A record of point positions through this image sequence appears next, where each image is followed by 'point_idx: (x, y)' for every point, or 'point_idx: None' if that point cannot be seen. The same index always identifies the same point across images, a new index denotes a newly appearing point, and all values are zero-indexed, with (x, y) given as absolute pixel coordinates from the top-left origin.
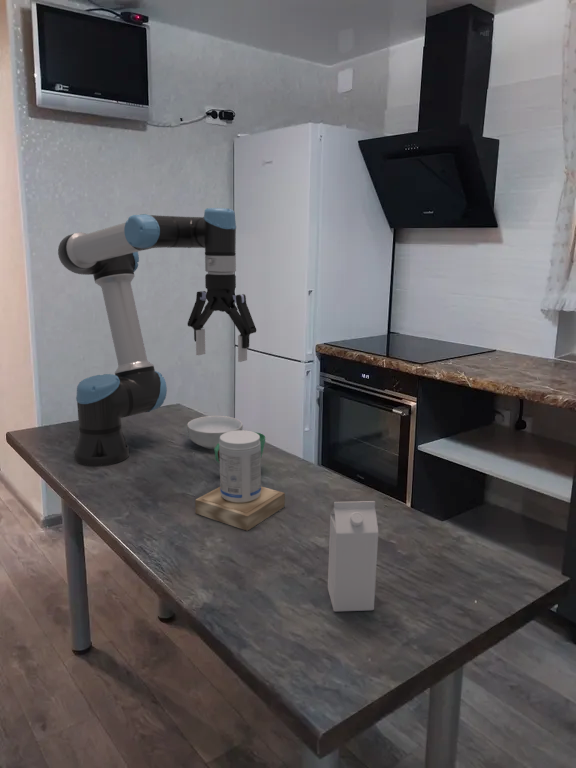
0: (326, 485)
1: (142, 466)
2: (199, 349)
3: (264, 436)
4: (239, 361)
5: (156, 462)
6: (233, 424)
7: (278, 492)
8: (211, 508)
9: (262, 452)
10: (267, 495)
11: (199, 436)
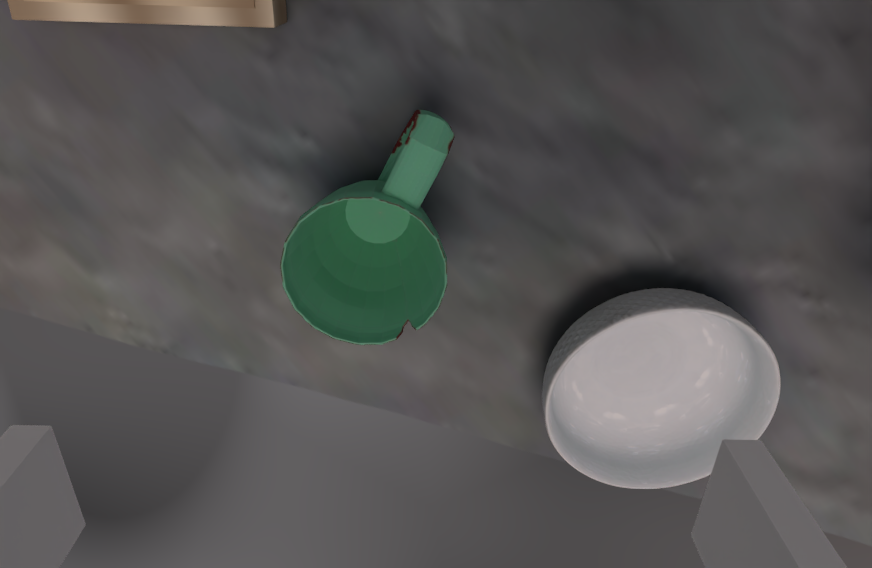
0: (80, 257)
1: (789, 19)
2: (752, 517)
3: (309, 321)
4: (27, 427)
5: (754, 91)
6: (618, 463)
7: (34, 8)
8: None
9: (314, 270)
10: None
11: (666, 297)
